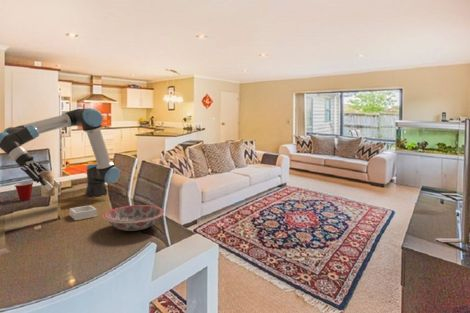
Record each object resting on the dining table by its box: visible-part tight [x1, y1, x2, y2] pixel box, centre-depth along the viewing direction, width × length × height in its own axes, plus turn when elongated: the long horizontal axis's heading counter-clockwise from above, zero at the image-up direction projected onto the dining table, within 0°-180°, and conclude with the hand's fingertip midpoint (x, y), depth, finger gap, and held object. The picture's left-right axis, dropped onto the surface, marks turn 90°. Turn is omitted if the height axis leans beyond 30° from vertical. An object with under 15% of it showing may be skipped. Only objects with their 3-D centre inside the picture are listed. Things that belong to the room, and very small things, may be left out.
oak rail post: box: [39, 170, 56, 198], centre depth 154 cm, size 6×6×13 cm
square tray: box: [69, 204, 98, 221], centre depth 164 cm, size 11×11×4 cm
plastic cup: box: [13, 181, 34, 202], centre depth 195 cm, size 11×11×12 cm
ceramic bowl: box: [103, 204, 165, 232], centre depth 147 cm, size 29×29×8 cm
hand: (54, 187), depth 155 cm, fingers closed on oak rail post, 6 cm apart
